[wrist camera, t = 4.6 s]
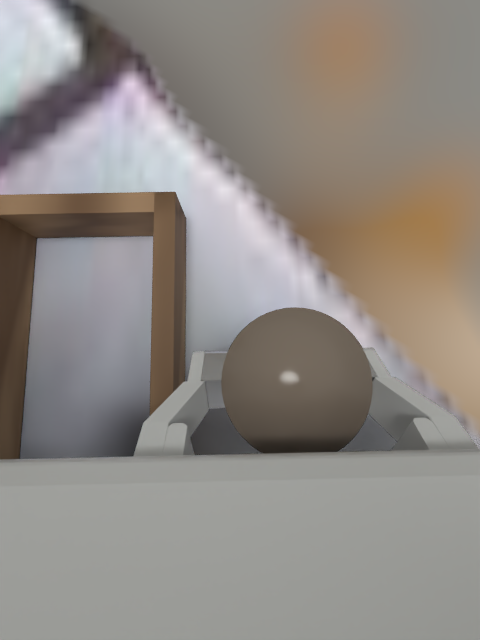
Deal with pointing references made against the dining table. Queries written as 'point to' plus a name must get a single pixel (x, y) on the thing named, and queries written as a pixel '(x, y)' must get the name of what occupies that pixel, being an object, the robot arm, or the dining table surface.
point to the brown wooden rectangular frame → (88, 221)
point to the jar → (296, 383)
